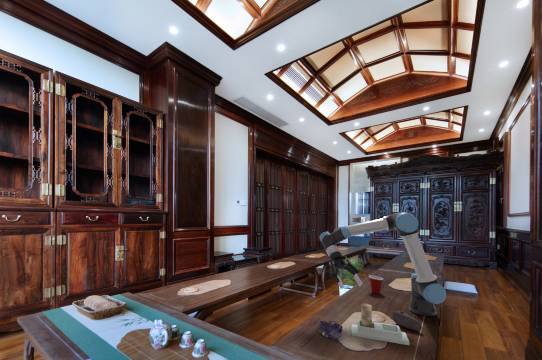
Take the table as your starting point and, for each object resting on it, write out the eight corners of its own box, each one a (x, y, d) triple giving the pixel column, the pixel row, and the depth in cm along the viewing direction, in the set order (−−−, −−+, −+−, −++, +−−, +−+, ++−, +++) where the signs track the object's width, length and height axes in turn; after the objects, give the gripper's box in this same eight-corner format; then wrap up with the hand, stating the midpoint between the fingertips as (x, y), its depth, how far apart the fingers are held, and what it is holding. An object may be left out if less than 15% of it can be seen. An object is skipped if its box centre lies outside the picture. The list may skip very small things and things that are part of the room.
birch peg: (371, 328, 132) (371, 304, 133) (372, 333, 127) (372, 307, 128) (361, 327, 133) (361, 303, 134) (361, 331, 128) (361, 306, 130)
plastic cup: (385, 295, 192) (385, 279, 193) (370, 294, 194) (369, 278, 195) (382, 291, 202) (381, 275, 204) (367, 290, 205) (367, 274, 206)
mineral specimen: (317, 339, 124) (317, 330, 124) (320, 326, 137) (320, 318, 137) (341, 343, 120) (341, 334, 121) (342, 329, 133) (342, 321, 134)
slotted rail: (405, 335, 129) (405, 326, 129) (409, 345, 119) (409, 335, 120) (351, 327, 137) (351, 318, 137) (351, 335, 127) (351, 325, 128)
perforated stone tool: (424, 332, 133) (423, 318, 134) (419, 334, 131) (418, 320, 131) (397, 321, 146) (396, 308, 147) (391, 323, 143) (391, 310, 144)
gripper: (347, 257, 165) (365, 287, 149) (315, 259, 154) (331, 292, 139) (352, 249, 161) (371, 280, 145) (320, 251, 150) (337, 284, 135)
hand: (352, 286), depth 142 cm, fingers open, 13 cm apart
